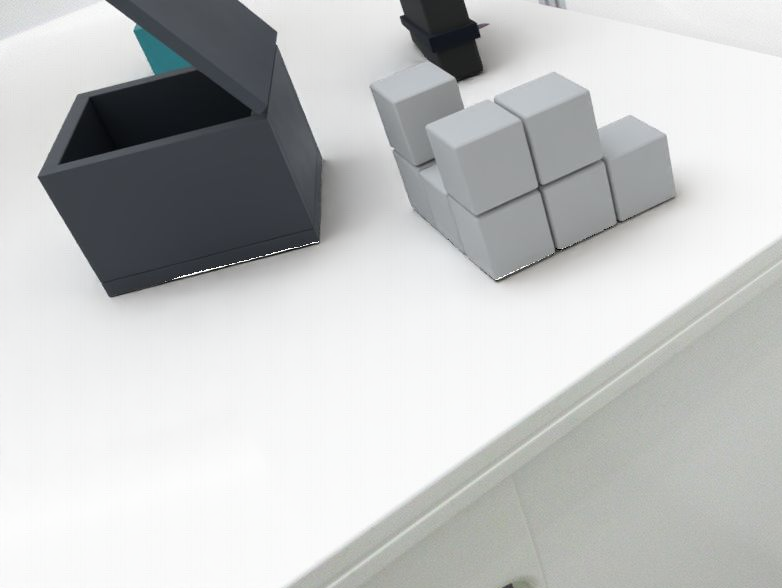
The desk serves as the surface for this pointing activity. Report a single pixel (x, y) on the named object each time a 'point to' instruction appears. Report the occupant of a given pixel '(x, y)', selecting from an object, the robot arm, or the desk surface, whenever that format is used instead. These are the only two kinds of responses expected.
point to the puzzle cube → (518, 164)
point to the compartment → (183, 177)
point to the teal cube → (158, 53)
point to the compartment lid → (213, 41)
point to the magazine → (444, 34)
